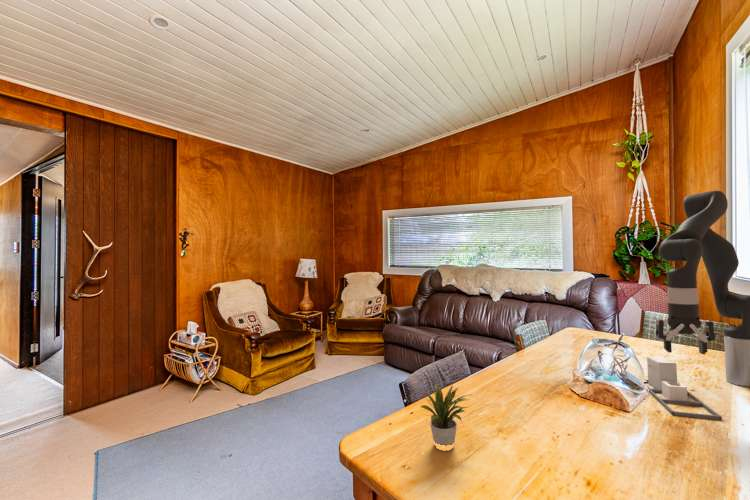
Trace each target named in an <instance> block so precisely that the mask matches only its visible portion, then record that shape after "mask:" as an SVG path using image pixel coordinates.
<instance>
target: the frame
mask: <svg viewBox="0 0 750 500" xmlns="http://www.w3.org/2000/svg"><path fill="white" fill-rule="evenodd" d="M645 380H646V381H647V383H646V384H648V379H645ZM647 387H648V389H649V392H648V393H649V394H650V395H651V396H652V397H653V398H654V399H655V400H656V401H657V402H658V403H659V404H660V406H662V407H663V408H664V409H666V410H667V412H669V414H670V415H672V416H678V417H688V418H697V419H699V418H700V419H707V420H716V421H717V420H718V421H722V420H723V417H722V415H720V414H719V413H718V412H716V411H715V410H714V409H712V408H711V407H710V406H708V405H707V404H705V403H704V402H703V401H702V400H701V399H699V398H697V397H696V396H695V395H694V394H692V393H691V391H688V390H687V397H689V398H690V399H692V400H693V401H690V400H687V401H680V400H670V399H666V398H660V397H659V396H658V395H657V394H662V390H659V389H656V388H650V387H649V386H647ZM668 404H675V405H685V406H694V407H696V406H697V407H702V408H704V409H705V410H706V411H707V412H708V413H710V414H704V413H697V412H696V413H695V412H685V411H678V410H677V411H675V410H673V409H672V408H671V407H670V406H668Z"/></svg>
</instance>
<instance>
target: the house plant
mask: <svg viewBox="0 0 750 500" xmlns="http://www.w3.org/2000/svg"><path fill="white" fill-rule="evenodd" d="M453 386H454V385H453V384H452V385H451V387H450V388H449V390H448V392H447V393H446V394H445V397H444V395H443V391H442V388H441V385H440V384H438V385H437V384H436V383H434V393H433V395H434V396H435V397H434V398H435V399H434V398H433V396H431V394H429V392H427V391H425V390H423V392H424V393H425V394H426V396H427V398H428V399H429V400H428V399H427V398H425V400H426V401H427V402H428V403H429V404H430V405H431V407H433V408H431V407H430V406H428V405H426V404H423V405H421V406H420V407H419V408H422V409H425V410H427V411H429V412H430V413H432V414H430V421H429V422H430V423H429V424H430V430H431V434H432V439H433V442H434V441H435V443H437V444H440V445H445V446H447V445H452V444H453V443H454V442H456V434H457V427H458V426H457V425H458V424H457V422H456V420H455V419H454V418H456V419H459V420H460V421H461V423H462V418H461V416H460V415H459V414H461V413H466V411H465V408H468V406H460V405H457V404H458V403H460V402H464V401H465V400H467V398H465V397H469V396H471V394H465V395H464V394H463V395H462V396H458V397H457V398H456V399H454V398H455V397H456V393H457V391H458V390H459V388H460V387H455V388H454V390H453ZM470 400H471V399H468V401H470ZM455 409H456V410H455ZM454 444H455V443H454Z"/></svg>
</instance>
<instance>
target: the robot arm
mask: <svg viewBox="0 0 750 500" xmlns="http://www.w3.org/2000/svg"><path fill="white" fill-rule="evenodd" d="M682 202H683V203H682V204H683V205H682V207H683V211H684V213H685V215H686V218H687V219H685V220H684V221H683V222H682V223H681V224H680V225H679V226H678V228H677V230H676V231H675V232H673V233H672V234H670V235H669V236H668V237H666V238H665V239H664V240H663V241H662V242H661V243H660V245H659V247H658V254H659V257H660V258H661V259H662V260H664V261H666V262H685V264H684V266H683V267H678V268H677V267H676V268H673V269H668V271H667V272H666V273H667V274H666V278H667V293H666V298H667V317H668V318H667V319H662V318H661V319H660V318H657V319H655V320H656V321H655V336H656V337H657V338H658V339H661V340H663V349H664V350H665V352H667V353H670V354H671V353H672V351H673V350H672V349H673V348H672V341H671V339H672V338H673V337H675V336H676V335H677V334H679V335H685V334H686V335H694V336H695V337H696V338H697V339H698V353H699V354H701V355H706V353H708V343H709V342H712V341H715V340H716V336H715V328H714V327H715V326H714V322H713V321H711V320H709V319H705V320H701V319H700V304H699V303H700V297H699V291H698V282H697V281H698V280H697V274H698V273H697V272H698V268H699V264H700V262H701V258H702V261H703V264H704V267H705V269H706V272H707V275H708V278H709V280H710V284H711V289H712V294H713V300H714V303H715V307H716V310H717V312H718V314H719V315H720V316H721V317H724V318H727V319H736V320H741V323H740V324H739V325H735V326H728V327H725V328H723V342H724V364H725V365H724V367H725V378H726V379H725V380H726V382H727V383H730V384H733V385H737V386H742V387H749V388H750V295H749V294H735V293H731V292H730V290H729V282H730V281H731V279H732V277H733V276H734V275H735V273H736V271H737V269H738V267H739V263H740V262H739V258H738V255H737V252H736V249H735V247H734V245H733V244H732V243H731V242H730V241H729V240H727V239H726V238H725V237H724V236H721V234H719V233H718V232H716V231H714V230H713V229H712V228H711V227H712V226H714V224H715V223H716V222H717V221H718V220H719V219H721V218H722V217H723V216H724V214H725V213H726V212H727V209H728V206H729V205H728V203H729V202H728V199H727V196H726V195H725V193H724V192H723V191H722V190H709V191H705V192H700V193H694V194H690V195H687V196H685V197H684V198H683V200H682ZM666 325H668V326H669V328H668V329H667V330H666V332H665V333H664V330H665V329H664V328H665V327H666ZM701 326H702V328H704V331H705V335H704V334H703V333H702V332H701V331H700V330H699V328H701Z"/></svg>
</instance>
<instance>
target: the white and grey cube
mask: <svg viewBox="0 0 750 500" xmlns="http://www.w3.org/2000/svg"><path fill="white" fill-rule="evenodd" d="M661 383H662V393H661V396H662V397H664V399H670V400H680V401H688V395H687V391H688V387H687V386H686V385H684V384H682V383H681V382H678V381H677V382H668V381H661Z"/></svg>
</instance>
